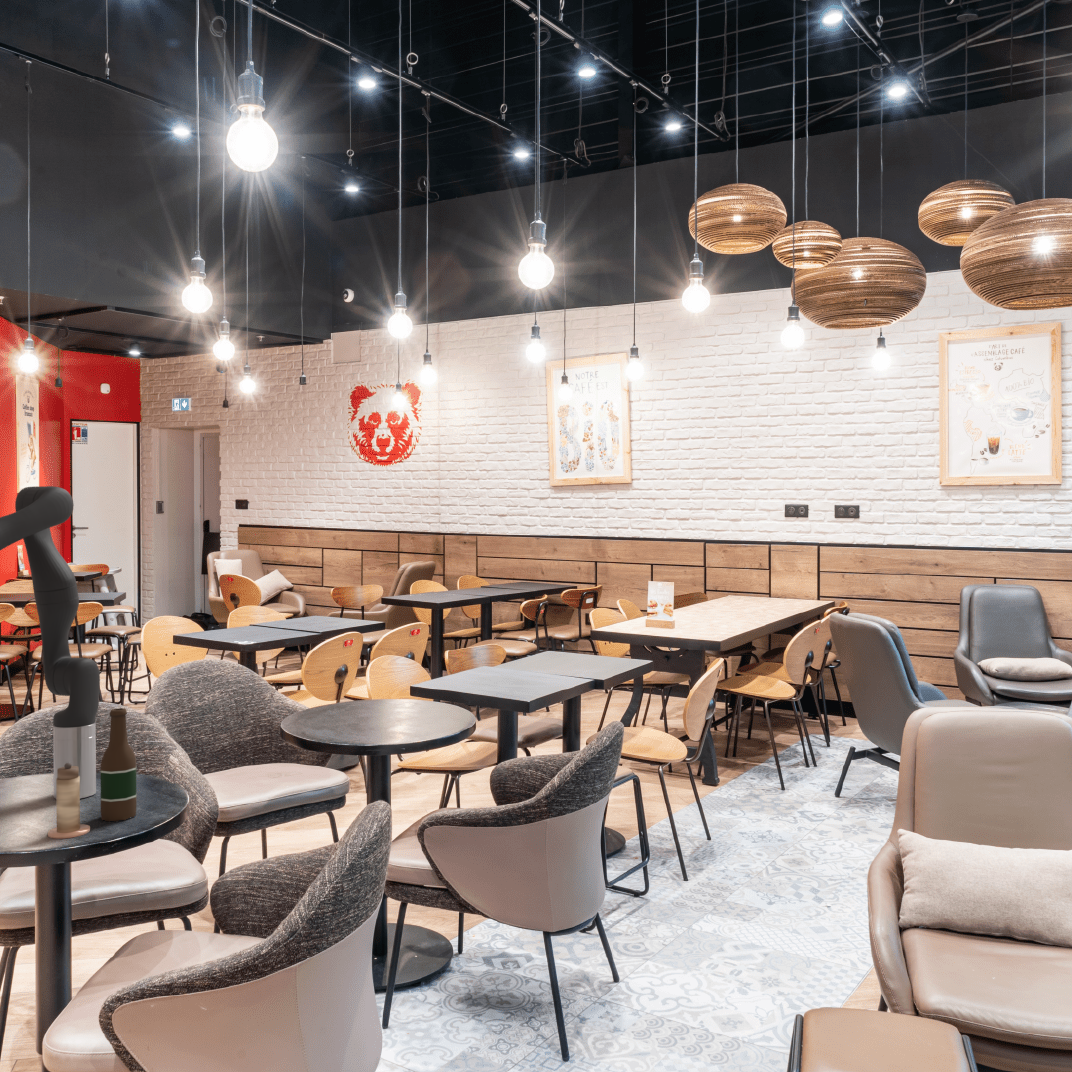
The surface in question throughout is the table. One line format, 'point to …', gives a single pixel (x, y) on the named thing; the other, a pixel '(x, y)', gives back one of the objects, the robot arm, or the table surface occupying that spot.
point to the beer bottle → (118, 772)
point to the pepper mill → (68, 798)
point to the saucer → (81, 831)
